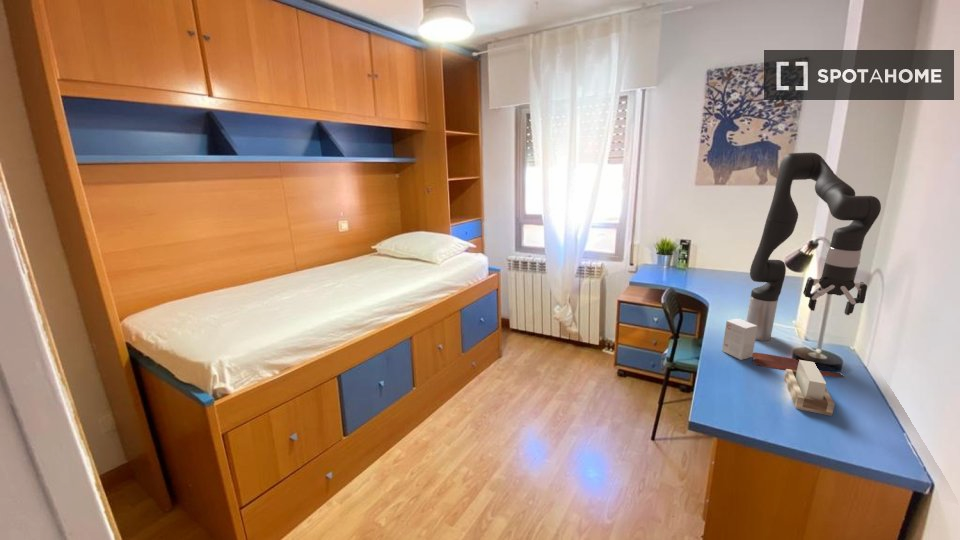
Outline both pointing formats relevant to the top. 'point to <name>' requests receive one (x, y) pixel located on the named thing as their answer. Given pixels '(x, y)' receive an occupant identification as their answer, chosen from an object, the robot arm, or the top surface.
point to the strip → (810, 380)
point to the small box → (739, 338)
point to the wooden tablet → (783, 363)
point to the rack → (806, 402)
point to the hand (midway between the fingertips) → (828, 311)
